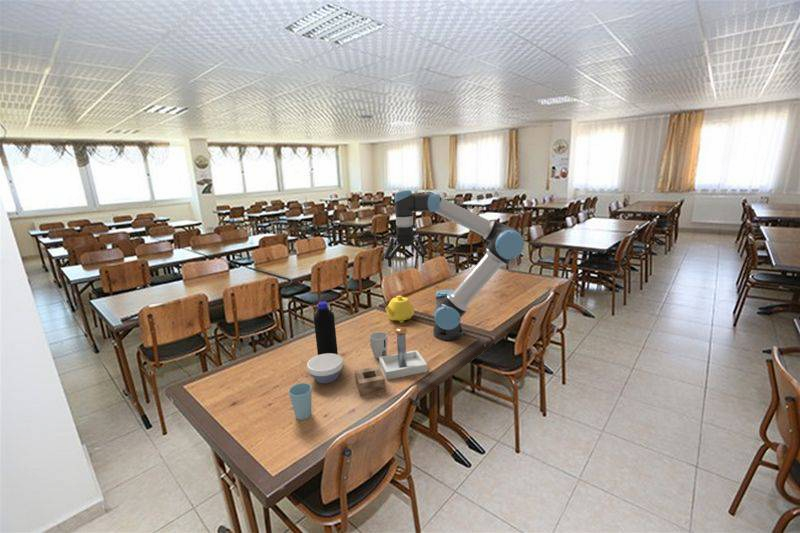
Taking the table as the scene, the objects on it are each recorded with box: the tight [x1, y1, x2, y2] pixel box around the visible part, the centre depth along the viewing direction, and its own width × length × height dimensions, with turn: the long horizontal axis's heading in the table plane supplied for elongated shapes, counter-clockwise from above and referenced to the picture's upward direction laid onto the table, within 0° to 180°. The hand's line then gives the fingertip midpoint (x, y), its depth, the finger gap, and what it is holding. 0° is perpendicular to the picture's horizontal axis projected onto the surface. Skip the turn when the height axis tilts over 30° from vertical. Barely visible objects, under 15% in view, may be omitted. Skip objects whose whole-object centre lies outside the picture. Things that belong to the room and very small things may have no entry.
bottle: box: [313, 300, 339, 355], centre depth 165 cm, size 9×9×28 cm
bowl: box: [306, 353, 344, 384], centre depth 154 cm, size 14×14×8 cm
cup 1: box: [288, 382, 312, 421], centre depth 130 cm, size 8×8×10 cm
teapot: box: [385, 295, 415, 324], centre depth 209 cm, size 20×16×14 cm
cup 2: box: [368, 331, 388, 359], centre depth 170 cm, size 8×8×10 cm
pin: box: [394, 326, 408, 368], centre depth 157 cm, size 5×5×17 cm
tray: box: [378, 349, 428, 380], centre depth 159 cm, size 18×14×3 cm
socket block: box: [354, 365, 386, 396], centre depth 147 cm, size 10×10×5 cm
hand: (406, 272), depth 171 cm, fingers open, 13 cm apart
